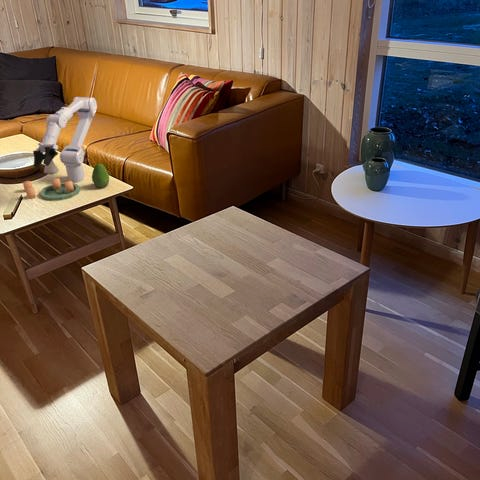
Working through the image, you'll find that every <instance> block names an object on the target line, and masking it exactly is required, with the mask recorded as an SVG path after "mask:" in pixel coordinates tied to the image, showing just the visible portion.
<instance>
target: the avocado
mask: <svg viewBox="0 0 480 480" xmlns="http://www.w3.org/2000/svg"><path fill="white" fill-rule="evenodd" d="M109 174H110V173H109V172H108V171H107V168H106V167H105V165H104V164H103V163H97V164H96V165H94V168H93V171H92V174H91V180H92V182H93V184H94V186H95V187H97V188H99V189H103V188H106V187H107V186H109V183H110V175H109Z"/></svg>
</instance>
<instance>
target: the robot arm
mask: <svg viewBox="0 0 480 480" xmlns="http://www.w3.org/2000/svg"><path fill="white" fill-rule="evenodd" d="M97 104H98V103H97V100H96V99H95V97H85V96H83V97H82V96H76V97H74V98H73V99H72V102H71V103H70V104H69V105H68V106H62V107H60V109H59V110H58V111H56V112H55V113H54V114H50V115H48V116H47V117H46V124H45V128H46V129H45V132H44V134H43V136H42V140H41V142H39V143H38V144H37V145H38V147H37V148H36V149H35V150H33V151H32V152H33V153H32V154H33V167H34V168H37V169H39V168H40V166H41V164H42V163H43V165H44V166H45V165H47V166H48V165H49V164H50V163H51V161H52V160H53V159H55V157H57V156H58V155H59V159H60V162H61V164H63V166H65V171H66V174H67V175H66V176H67V179H68V180H67V181H72V182H73V183H74V184H78V183H81V182H83V181H84V177H85V172H84V166H83V163H84V160H85V159H84V158H85V154H86V153H85V151H84V149H83V148H82V147H83V144H84V142H85V139H86V137H87V134H88V131H89V129H90V127H91V124H92V121H93V118H94V117H95V114H96V112H97V109H98V105H97ZM74 113H76V115H77V116H78V117H79V120H78V123H77V126H76V129H75V131H74V134H73V136H72V138H71V141H70V144H68V145H66V146H64V147H63V149H62V150H61V152H60V154H59V152H57V151H58V149H59V145H57V142H58V139H59V136H60V133H61V130H62V129H64V128H66V126H67V123H68V121H70V120H71V119H72V118H73V116H74ZM44 153H45V155H44ZM53 161H54V160H53Z"/></svg>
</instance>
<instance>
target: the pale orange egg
mask: <svg viewBox="0 0 480 480" xmlns="http://www.w3.org/2000/svg"><path fill="white" fill-rule="evenodd" d="M25 190H26V192H25V193H26V197H27V199H28V200H33V199H35V198H36V197H37V196H36V192H35V188H34V187H33V186H32V187H29V188H26V189H24V191H25Z"/></svg>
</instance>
